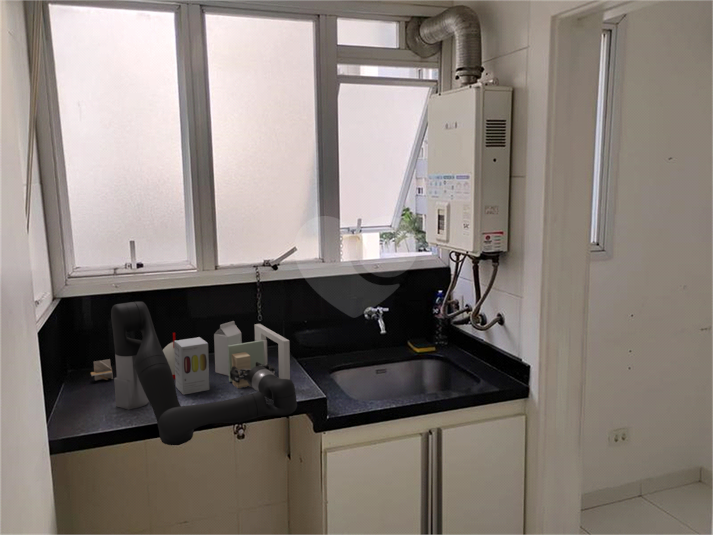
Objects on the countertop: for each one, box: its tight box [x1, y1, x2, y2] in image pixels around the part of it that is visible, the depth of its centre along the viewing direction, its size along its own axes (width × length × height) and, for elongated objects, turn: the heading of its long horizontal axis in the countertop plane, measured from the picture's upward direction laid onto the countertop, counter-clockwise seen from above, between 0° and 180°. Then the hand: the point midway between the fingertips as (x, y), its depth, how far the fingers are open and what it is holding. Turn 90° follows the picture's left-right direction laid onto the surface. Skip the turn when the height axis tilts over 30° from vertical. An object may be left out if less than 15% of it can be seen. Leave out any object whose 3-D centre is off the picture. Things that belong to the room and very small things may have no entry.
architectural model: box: [90, 358, 114, 381], centre depth 203 cm, size 3×7×7 cm, turn 121°
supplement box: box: [174, 336, 210, 396], centre depth 195 cm, size 10×9×17 cm
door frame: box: [254, 323, 291, 380], centre depth 202 cm, size 26×2×18 cm, turn 32°
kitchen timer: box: [162, 332, 176, 380], centre depth 211 cm, size 14×14×15 cm
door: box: [228, 339, 268, 382], centre depth 205 cm, size 15×3×13 cm, turn 122°
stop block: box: [232, 352, 251, 390], centre depth 198 cm, size 5×5×11 cm
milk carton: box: [213, 320, 243, 377], centre depth 211 cm, size 7×7×19 cm
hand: (245, 367), depth 197 cm, fingers open, 8 cm apart
